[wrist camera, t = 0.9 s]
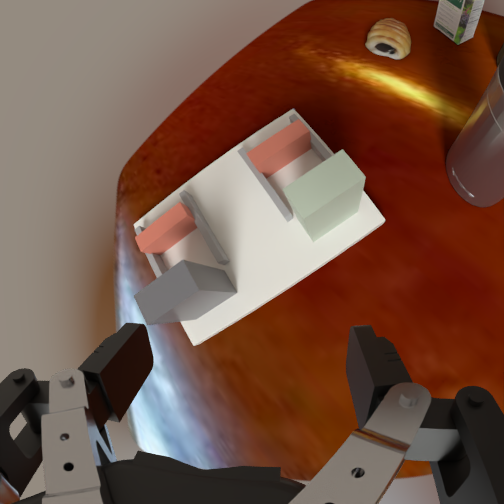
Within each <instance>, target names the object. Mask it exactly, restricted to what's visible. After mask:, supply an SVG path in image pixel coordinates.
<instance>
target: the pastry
mask: <svg viewBox="0 0 504 504" xmlns="http://www.w3.org/2000/svg"><path fill="white" fill-rule="evenodd" d="M365 45H366V47H367V48H368V49H369V51H371V52H373V53H375V54H377V55H382V56H388V57H390V58H393V59H396V60H397V59H402V58H404V57H406V56H407V55H408V54H409V53H410V47H411V46H410V45H411V38H410V35H409V32H408V30H407V27H406V25H405V24H404V23H402V22H400V21H398V20H395V19H393V18H386V19H384V20H382V19H381V20H380V21H379V22H377V23H376V24H375V25H374V26H372V28H371V30H370V31H369V33H368V37H367V42H366V43H365Z"/></svg>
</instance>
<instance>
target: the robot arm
mask: <svg viewBox="0 0 504 504" xmlns="http://www.w3.org/2000/svg"><path fill="white" fill-rule="evenodd" d="M446 170H447V174H448V177H449V180H450V182H451V184H452V186H453V187H454V189H455V190H456V192H457V193H458V194H459V195H460V196H461V197H462V198H463V199H464V200H465V201H467V202H469V203H470V204H472V205H475V206H478V207H488V206H492V205H493V204H495V203H497V202H498V201H500V200H501V199H503V198H504V56H503V58H502V60H501V62H500V64H499V66H498V68H497V70H496V72H495V73H494V75H493V77H492V79H491V81H490V83H489V85H488V87H487V89H486V90H485V92H484V94H483V96H482V97H481V99H480V101H479V103H478V104H477V106H476V108H475V110H474V111H473V113H472V115H471V116H470V118H469V120H468V121H467V123H466V124H465V126H464V128H463V129H462V131H461V132H460V134H459V135H458V137H457V139H456V140H455V142H454V143H453V145H452V146H451V148H450V149H449V151H448V154H447V158H446ZM152 368H153V354H152V349H151V345H150V341H149V337H148V332H147V328H146V326H145V325H144V324H137V323H126V324H124V326H123V327H122V328H121V329H120V330H119V331H118V332H117V333H115V334H113V335H111V336H110V337H108V338H106V339H105V340H104V341H103V342H102V343H101V344H100V345H99V347H98V348H97V349H96V350H95V351H94V353H92V354H91V355H90V356H89V357H88V358H87V359H86V360H85V361H84V362H83V364H82V365H81V366H80V367H79V368H78V369H65V370H62V371H60V372H58V373H56V374H55V375H54V376H53V377H52V378H51V379H50V381H37V379H36V377H35V375H34V372H33V371H32V370H30V369H25V368H24V369H18V370H16V371H14V372H12V373H10V374H9V375H8V376H7V377H6V378H5V379H4V380H3V381H2V382H1V383H0V504H379V502H380V501H381V499H382V498H383V496H384V494H385V493H386V491H387V490H388V488H389V486H390V485H391V483H392V482H393V480H394V478H395V477H396V475H397V473H398V472H399V470H400V468H401V466H402V465H403V463H404V461H405V460H419V461H429V462H430V465H431V469H432V473H433V477H434V480H435V484H436V488H437V492H438V496H439V500H440V504H504V415H503V413H502V411H501V409H500V408H499V406H498V404H497V403H496V401H495V399H494V398H493V396H492V395H491V394H490V393H489V392H488V391H487V390H485V389H483V388H481V387H477V386H468V387H464V388H462V389H461V390H459V391H458V393H457V395H456V397H455V399H439V398H432V397H431V395H430V393H429V391H428V390H427V389H426V388H424V387H423V386H421V385H419V384H416V383H413V382H412V380H411V378H410V376H409V374H408V372H407V370H406V368H405V366H404V364H403V362H402V361H401V358H400V356H399V354H397V350H396V349H395V347H394V345H393V343H391V342H390V341H389V340H387V339H386V338H385V337H376V335H375V333H374V331H373V329H372V327H371V325H363V326H351V328H350V333H349V342H348V351H347V359H346V373H347V378H348V382H349V386H350V391H351V395H352V399H353V403H354V408H355V412H356V416H357V421H358V425H359V429H356V430H355V431H354V432H353V433H352V434H351V435H350V436H349V438H348V439H347V440H346V441H345V443H344V444H343V445H342V446H341V447H340V449H339V450H338V451H337V452H336V453H335V455H334V456H333V457H332V458H331V459H330V460H329V462H328V463H327V464H326V465H325V466H324V467H323V468H322V469H321V471H320V472H319V473H318V474H317V475H316V476H315V477H314V478H313V479H312V480H311V481H310V482H309V483H308V485H307V486H306V485H304V484H302V483H300V482H297V481H294V480H291V479H288V478H283V477H280V469H281V467H252V466H239V467H230V468H220V469H209V470H203V469H199V468H196V467H193V466H191V465H188V464H185V463H183V462H180V461H178V460H175V459H173V458H170V457H166V456H161V455H156V454H151V453H146V452H141V451H138V452H137V454H136V456H135V458H134V459H132V460H121V461H117V459H116V456H115V453H114V450H113V446H112V443H111V439H110V436H109V433H108V429H107V426H106V424H105V423H106V422H107V420H111V421H115V422H120V421H121V419H122V417H123V416H124V414H125V413H126V411H127V409H128V408H129V406H130V404H131V403H132V401H133V400H134V398H135V396H136V395H137V393H138V391H139V390H140V388H141V386H142V385H143V383H144V382H145V380H146V378H147V377H148V375H149V373H150V372H151V370H152ZM20 412H21V413H22V415H23V417H24V418H25V420H26V422H27V424H26V426H25V427H24V428H23V429H22V431H21V432H20V433H19V435H18V436H17V437H16V438H15V440H13V439H12V437H11V436H10V433H9V428H10V424H11V423H12V422H13V421H14V419H15V418H16V417H17V416H18V415H19V413H20ZM42 461H43V468H44V478H45V487H46V491H44V492H41V493H39V494H36V495H34V496H31V497H28V498H26V499H22V500H20V497H21V495H22V494H23V492H24V490H25V488H26V487H27V485H28V484H29V482H30V480H31V478H32V477H33V475H34V474H35V472H36V470H37V469H38V467H39V466H40V464H41V462H42Z"/></svg>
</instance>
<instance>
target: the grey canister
mask: <svg viewBox="0 0 504 504" xmlns="http://www.w3.org/2000/svg"><path fill="white" fill-rule="evenodd" d="M503 56H504V43H503V45H502V47H501V50H500V52H499V54H498V56H497V65H498V66H499V64H500V62H501V60H502V58H503Z"/></svg>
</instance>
